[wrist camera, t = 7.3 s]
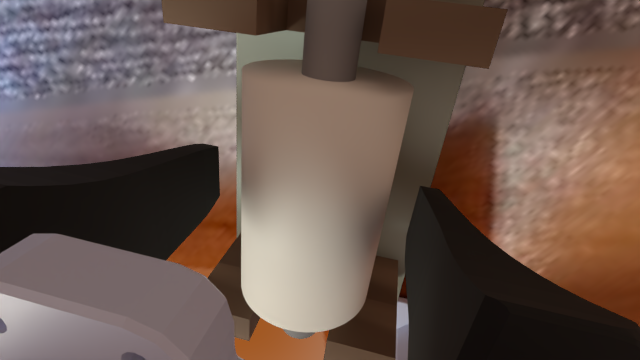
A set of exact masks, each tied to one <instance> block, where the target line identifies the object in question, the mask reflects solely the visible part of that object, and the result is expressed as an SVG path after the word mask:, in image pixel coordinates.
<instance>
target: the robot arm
mask: <svg viewBox="0 0 640 360" xmlns="http://www.w3.org/2000/svg"><path fill="white" fill-rule="evenodd" d="M219 196H220V188H219V151H218V147H217V146H212V145H207V144H193V145H187V146H182V147H177V148H173V149H168V150H164V151H159V152H155V153H150V154H145V155H140V156H135V157H130V158H125V159H120V160H114V161H107V162H99V163H91V164H82V165H67V166H51V167H0V360H244V359H242V358H240V357H238V356H237V354H236V351H235V345H234V320H233V317H232V314H231V311H230V308H229V305H228V302H227V299H226V298H225V296H224V295H223V294H222V293H221V292H220V291H219V290H218V289H217V288H216V287H215V286H214V285H213V284H212V283H211V282H210V280H209V279H208V278H206V276H204V275H202V274H200V273H197V272H195V271H193V270H191V269H189V268H187V267H185V266H183V265H180V264H177V263H173V262H169V261H166V260H167V259H168V257H169V256H170V255H171V254H172V253H173V252H174V251H175V250H176V249H177V248H178V247H179V246H180V244H181V243H182V242H183V241H184V240H185V239H186V238H187V237H188V236H189V235H190V234H191V233H192V231H193V230H194V229H195V228H196V227H197V226H198V225H199V224H200V223H201V222H202V220H203V219H204V218H205V217H206V216H207V214H208V213H209V212H210V210H211V209H212V207H213V206H214V204H215V202H216V201H217V199H218V198H219ZM405 275H406V289H407V299H406V298H401V297H398V300H397V325H396V359H395V360H640V327H639V326H638V325H637V323H636V322H633V321H631V320H629V319H627V318H624V317H622V316H620V315H618V314H616V313H613V312H611V311H609V310H607V309H604V308H602V307H600V306H598V305H595V304H593V303H591V302H589V301H587V300H585V299H583V298H581V297H579V296H577V295H575V294H573V293H571V292H569V291H567V290H565V289H563V288H561V287H560V286H558V285H556V284H554V283H552V282H551V281H549V280H547V279H545V278H544V277H542V276H540V275H539V274H537V273H535V272H534V271H532V270H531V269H529V268H527V267H526V266H524V265H523V264H521V263H520V262H518V261H517V260H515V259H514V258H512V257H511V256H510V255H508V254H507V253H506V252H504V251H503V250H502V249H500V248H499V247H498V246H496V245H495V244H494V243H493V242H491V241H490V240H489V239H488V238H487V237H486V236H484V235H483V234H482V233H481V232H480V231H479V230H478V229H477V228H476V227H475V226H474V225H472V224H471V223H470V222H469V221H468V220H467V219H466V218H465V217H464V215H463V214H462V213H461V212H460V211H459V210H458V209H457V208H456V207H455V206H454V205H453V204H452V203H451V201H450V200H449V199H448V198H447V197H446V196H445V195H444V194H443V193H442V192H441V191H440V190H439V189H434V188H429V187H424V186H420V188H419V191H418V195H417V199H416V202H415V206H414V210H413V213H412V217H411V220H410V224H409V228H408V231H407V235H406V246H405Z"/></svg>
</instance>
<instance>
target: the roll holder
mask: <svg viewBox="0 0 640 360" xmlns="http://www.w3.org/2000/svg"><path fill="white" fill-rule="evenodd" d="M484 1H485V0H367V6H366V12H365V19H364V25H363V32H362V39H361V45H360V52H359V59H358V65H357V66H358V67H363V68H368V69H372V70H377V71H380V72H384V73H387V74H391V75H394V76H396V77H399V78H401V79H404V80H405V81H407V82H409V83H410V84H412V86H413V87H414V92H413V96H412V100H411V105H410V109H409V113H408V118H407V122H406V126H405V131H404V135H403V140H402V144H401V148H400V153H399V157H398V161H397V166H396V170H395V174H394V179H393V183H392V187H391V192H390V196H389V201H388V205H387V209H386V214H385V218H384V222H383V227H382V231H381V235H380V240H379V244H378V249H377V253H376V257H375V262H374V266H373V270H372V275H371V279H370V283H369V288H368V292H367V296H366V300H365V303H364V305H363V307H362V308H361V310H360V311H359V313H358V314H357V315H356V316H355V317H354V318H352V319H351V320H350V321H348V322H347V323H345V324H343V325H341V326H339V327H336V328H334V329H331V330H329V334H328V338H327V343H326V349H325V354H324V360H395V359H396V325H397V300H398V297H399V294H400V290H401V287H402V283H403V280H404V276H405V246H406V235H407V231H408V228H409V224H410V220H411V217H412V213H413V210H414V206H415V202H416V199H417V195H418V191H419V188H420V186H424V187H429V188H430V187H431V184H432V180H433V177H434V173H435V170H436V166H437V163H438V160H439V156H440V153H441V149H442V146H443V142H444V139H445V135H446V132H447V129H448V125H449V122H450V118H451V115H452V111H453V108H454V105H455V101H456V98H457V94H458V91H459V87H460V84H461V80H462V77H463V74H464V70H465V67H466V66H472V67H479V68H486V69H489V66H490V63H491V60H492V57H493V54H494V51H495V48H496V44H497V41H498V38H499V35H500V32H501V29H502V26H503V23H504V20H505V16H506V13H507V10H508V9H500V8H492V7H484V6H483V5H484ZM162 9H163V21H164V23H171V24H178V25H185V26H192V27H199V28H206V29H213V30H220V31H227V32H234V33H237V239H236V240H235V241H234V243H233V244H232V245H231V247H230V248H229V249H228V251H227V252H226V254H225V255H224V256H223V258H222V259H221V260H220V262H219V263H218V264H217V266H216V267H215V269H214V270H213V271H212V273H211V274H210V275H209V277H208V279H209V280H210V282H211V283H212V284H213V285H214V286H215V287H216V288H217V289H218V290H219V291H220V292H221V293H222V294H223V295H224V296H225V298H226V299H227V302H228V305H229V308H230V311H231V314H232V317H233V320H234V337H237V338H240V339H244V340H247V341H249V340H250V338H251V336H252V334H253V332H254V329H255V327H256V325H257V323H258V321H259V319H260V317H259V316H258V315H257V314H256V313H255V312H254V311H253V310H252V309H251V308H250V307H249V305H248V304H247V302H246V300H245V298H244V296H243V293H242V288H241V154H242V67H243V66H244V65H246V64H248V63H252V62H256V61H263V60H277V59H294V60H303V47H304V34H305V22H306V9H307V0H162Z"/></svg>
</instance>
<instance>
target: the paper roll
mask: <svg viewBox="0 0 640 360" xmlns="http://www.w3.org/2000/svg"><path fill="white" fill-rule="evenodd" d="M366 6H367V0H307V9H306V22H305V34H304V47H303V60H294V59H277V60H263V61H256V62H252V63H248V64H246V65H244V66H243V67H242V154H241V288H242V293H243V296H244V298H245V300H246V302H247V304H248V305H249V307H250V308H251V309H252V310H253V311H254V312H255V313H256V314H257V315H258V316H259V317H261V318H262V319H264V320H265V321H267V322H269V323H271V324H273V325H275V326H277V327H280V328H283V330H284V331H285V332H286V333H287V334H288V335H289V336H291V337H294V338H298V339H303V338H307V337H310V336H312V335H313V334H314V333H315V332H320V331H326V330H331V329H334V328H336V327H339V326H341V325H343V324H345V323H347V322H348V321H350V320H351V319H352V318H354V317H355V316H356V315H357V314H358V313H359V311H360V310H361V308H362V307H363V305H364V303H365V300H366V296H367V292H368V288H369V283H370V279H371V275H372V270H373V266H374V262H375V257H376V253H377V249H378V244H379V240H380V235H381V231H382V227H383V222H384V218H385V214H386V209H387V205H388V201H389V196H390V192H391V187H392V183H393V179H394V174H395V170H396V166H397V161H398V157H399V153H400V148H401V144H402V140H403V135H404V131H405V126H406V122H407V118H408V113H409V109H410V105H411V100H412V96H413V92H414V87H413V86H412V84H410V83H409V82H407V81H405V80H404V79H401V78H399V77H396V76H394V75H391V74H387V73H384V72H380V71H377V70H372V69H368V68H363V67H358V66H357V65H358V59H359V52H360V45H361V39H362V32H363V25H364V19H365V12H366Z"/></svg>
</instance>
